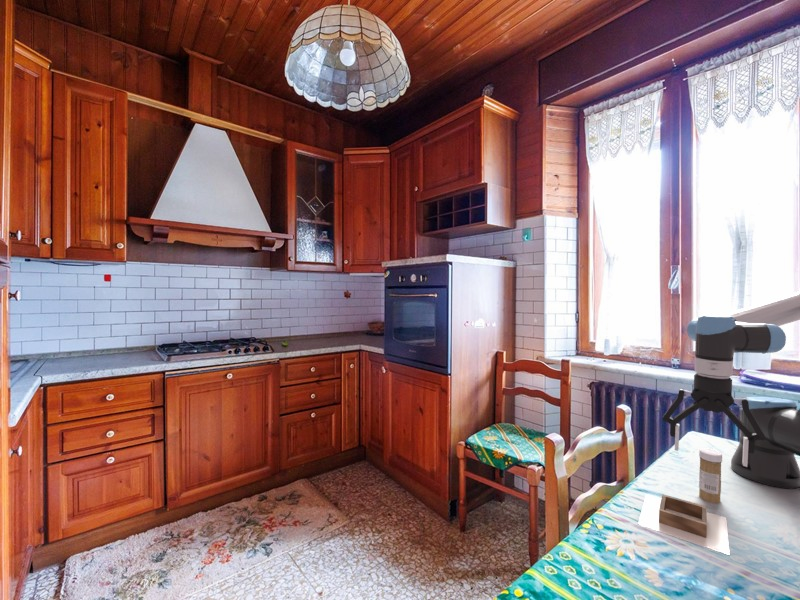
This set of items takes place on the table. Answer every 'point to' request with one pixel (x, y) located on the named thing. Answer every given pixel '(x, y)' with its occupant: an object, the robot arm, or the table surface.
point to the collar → (682, 521)
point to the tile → (713, 540)
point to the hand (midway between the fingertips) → (709, 456)
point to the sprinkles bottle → (710, 475)
